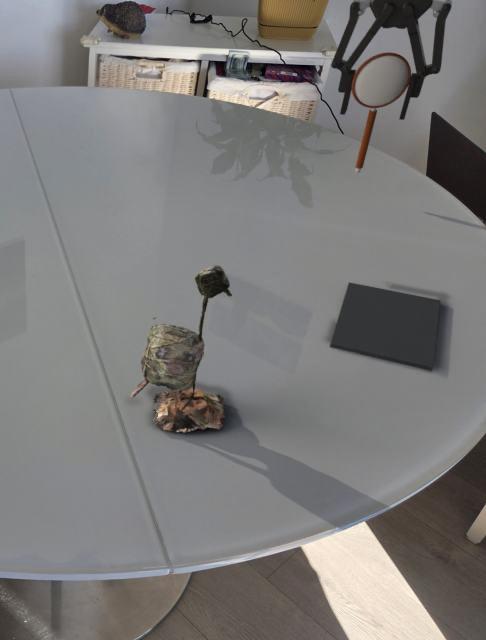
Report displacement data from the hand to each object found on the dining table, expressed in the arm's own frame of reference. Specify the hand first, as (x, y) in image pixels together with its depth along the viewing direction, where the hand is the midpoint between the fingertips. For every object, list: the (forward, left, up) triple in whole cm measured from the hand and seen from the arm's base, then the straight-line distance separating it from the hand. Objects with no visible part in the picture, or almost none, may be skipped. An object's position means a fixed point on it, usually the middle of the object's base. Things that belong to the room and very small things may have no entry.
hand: (372, 114), depth 107 cm
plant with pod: (+10, +65, -16) cm, 68 cm away
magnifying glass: (0, 0, -10) cm, 10 cm away
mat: (-10, +37, -16) cm, 41 cm away
